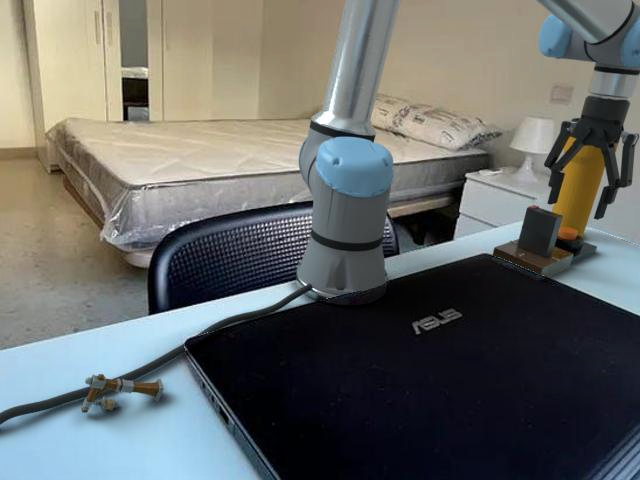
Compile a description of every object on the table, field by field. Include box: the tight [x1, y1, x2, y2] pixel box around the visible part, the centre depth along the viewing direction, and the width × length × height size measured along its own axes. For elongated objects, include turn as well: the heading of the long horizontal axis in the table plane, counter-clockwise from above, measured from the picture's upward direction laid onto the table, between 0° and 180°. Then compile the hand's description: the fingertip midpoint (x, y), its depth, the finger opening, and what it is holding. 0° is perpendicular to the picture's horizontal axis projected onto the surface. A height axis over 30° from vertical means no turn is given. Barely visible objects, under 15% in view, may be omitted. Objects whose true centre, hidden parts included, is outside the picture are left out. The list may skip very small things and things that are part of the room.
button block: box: [554, 234, 598, 266], centre depth 105 cm, size 11×9×4 cm
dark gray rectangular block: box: [517, 204, 563, 257], centre depth 95 cm, size 6×2×8 cm, turn 39°
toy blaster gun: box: [81, 373, 165, 414], centre depth 53 cm, size 2×8×4 cm, turn 118°
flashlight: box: [551, 117, 621, 238], centre depth 111 cm, size 10×26×10 cm
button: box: [557, 227, 578, 240], centre depth 104 cm, size 4×4×2 cm
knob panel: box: [492, 238, 574, 279], centre depth 97 cm, size 12×10×3 cm
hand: (574, 210), depth 102 cm, fingers open, 9 cm apart
